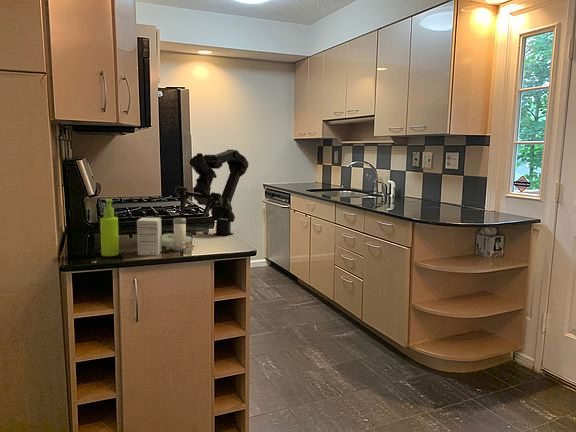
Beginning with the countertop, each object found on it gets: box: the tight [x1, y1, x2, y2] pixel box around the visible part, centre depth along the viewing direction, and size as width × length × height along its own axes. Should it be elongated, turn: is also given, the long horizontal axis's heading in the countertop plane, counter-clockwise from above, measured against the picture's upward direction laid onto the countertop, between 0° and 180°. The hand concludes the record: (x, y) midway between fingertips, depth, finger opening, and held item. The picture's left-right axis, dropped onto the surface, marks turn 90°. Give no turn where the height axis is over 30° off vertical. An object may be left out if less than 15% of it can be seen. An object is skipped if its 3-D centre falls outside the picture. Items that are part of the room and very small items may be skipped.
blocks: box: [166, 244, 196, 253], centre depth 172 cm, size 10×8×1 cm
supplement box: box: [136, 217, 163, 256], centre depth 163 cm, size 7×7×13 cm
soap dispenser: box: [99, 198, 120, 257], centre depth 158 cm, size 6×7×20 cm
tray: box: [161, 233, 193, 248], centre depth 182 cm, size 13×13×2 cm
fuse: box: [172, 217, 187, 252], centre depth 168 cm, size 5×5×12 cm
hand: (192, 214), depth 176 cm, fingers open, 9 cm apart
